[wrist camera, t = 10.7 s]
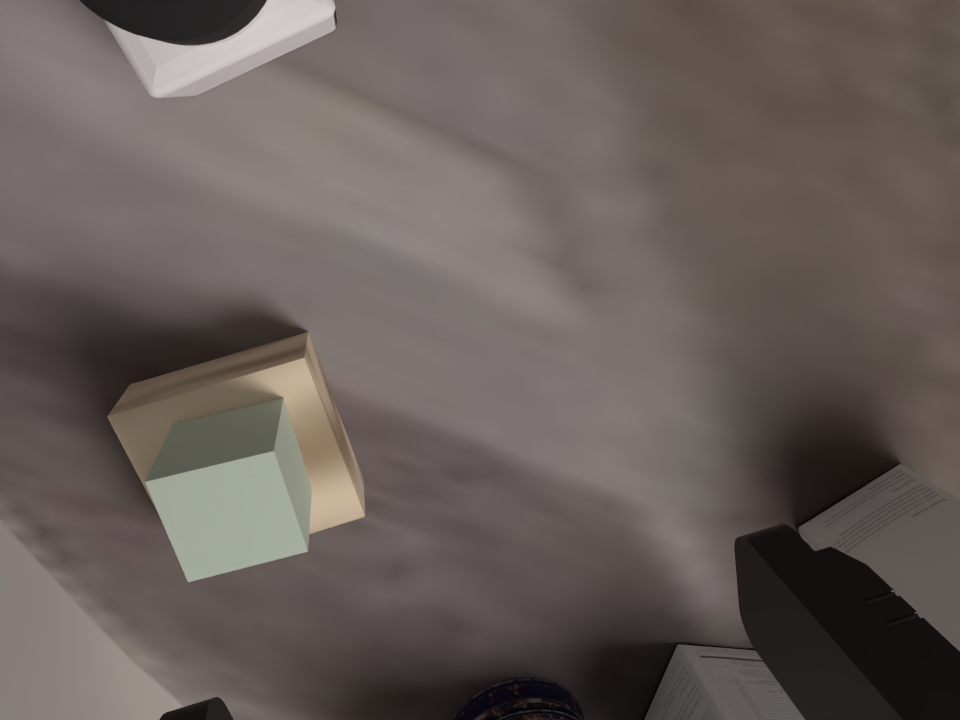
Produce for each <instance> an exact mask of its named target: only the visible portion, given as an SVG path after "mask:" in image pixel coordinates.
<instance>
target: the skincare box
mask: <svg viewBox="0 0 960 720" xmlns="http://www.w3.org/2000/svg"><path fill="white" fill-rule="evenodd" d="M798 531H799V533H800V535H801V538H802V539H803V540H804V541H805V542H806V543H807V544H808V545H809V546H810V547H811V548H812V549H813V550H814V551H818V550H821V549H824V548H827V547H830V546H831V547H833V548H835V549H837V550H839V551H841V552H843V553H845V554H847V555H849V556H851V557H853V558H855V559H857V560H859V561H861V562H863V563H865V564H867V565H868V566H869V567H870V568H871V569H872V570H873V571H874V572H875V573H876V574H878V575H879V576H880V577H881V578H882V579H883V580H884V581H885V582H886V583H887V584H888V585H889V586H890V587H891V588H892V589H894V592H895V594H896V595H897V596H899V595H900V596H901V597H902V598H903V599H904V600H905V601H906V602H907V603H908V604H910V605H911V606H912V607H913V608H914V609H915V610H916V611H917V613H918V616H919V617H920V618H924V619H926V620H927V621H928V622H929V623H930V624H931V625H932V626H933V627H934V628H935V629H936V630H937V631H938V632H939V633H940V634H942V635H943V636H944V637H945V638H946V639H947V640H948V641H949V642H950V643H951V644H952V645H953V646H954V647H955V648H956V649H958V650H959V651H960V500H958V499H957V498H955V497H954V496H952V495H950V494H949V493H947V492H946V491H944V490H942V489H941V488H939V487H938V486H936V485H934V484H933V483H931V482H930V481H928V480H926V479H925V478H923V477H921V476H920V475H918V474H917V473H915V472H913V471H912V470H910V469H909V468H907V467H905V466H904V465H902V464H899V465H897V466H896V467H894V468H893V469H891V470H889V471H888V472H886V473H885V474H883V475H881V476H880V477H878V478H877V479H875V480H873V481H872V482H870V483H869V484H867V485H866V486H864V487H862V488H861V489H859V490H858V491H856V492H854V493H853V494H851V495H850V496H848V497H846V498H845V499H843V500H842V501H840V502H838V503H837V504H835V505H834V506H832V507H830V508H829V509H827V510H825V511H824V512H822V513H821V514H819V515H817V516H816V517H814V518H813V519H811V520H809V521H808V522H806V523H805V524H803V525H801V526H800V527H799V528H798Z"/></svg>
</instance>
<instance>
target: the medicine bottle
mask: <svg viewBox="0 0 960 720" xmlns="http://www.w3.org/2000/svg"><path fill="white" fill-rule="evenodd" d="M80 1H81V2H82V3H83V4H84V5H85V6H86V7H88V8H89V9H90V10H91V11H93V12H94V13H96V14H97V15H98V16H100V17H101V18H102V19H103V20H104V21H105V23H106V25H107V26H108V28H109V30H110V31H111V33H112V35H113V36H114V38H115V40H116V42H117V43H118V45H119V47H120V48H121V50H122V52H123V53H124V55H125V57H126V58H127V60H128V62H129V63H130V65H131V67H132V68H133V70H134V72H135V74H136V75H137V77H138V79H139V80H140V82H141V84H142V85H143V87H144V89H145V90H146V92H147V93H148V94H149V95H150V96H152V97H155V98H164V97H181V96H195V95H199V94H201V93H203V92H205V91H207V90H209V89H212V88H214V87H216V86H218V85H220V84H222V83H224V82H226V81H228V80H231V79H233V78H235V77H237V76H239V75H241V74H243V73H245V72H248V71H250V70H252V69H254V68H256V67H258V66H260V65H262V64H264V63H267V62H269V61H271V60H273V59H275V58H277V57H279V56H281V55H284V54H286V53H288V52H290V51H292V50H294V49H296V48H298V47H300V46H303V45H305V44H307V43H309V42H311V41H313V40H315V39H317V38H320V37H322V36H324V35H326V34H328V33H330V32H332V31H333V30H334V29H336V26H337V19H336V10H335V4H334V1H333V0H80Z"/></svg>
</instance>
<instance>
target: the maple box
mask: <svg viewBox="0 0 960 720" xmlns="http://www.w3.org/2000/svg"><path fill="white" fill-rule="evenodd" d="M281 398H283V399H284V402H285V405H286V408H287V411H288V414H289V417H290V420H291V424H292V427H293V430H294V433H295V436H296V439H297V442H298V445H299V449H300V452H301V455H302V458H303V461H304V464H305V467H306V470H307V474H308V477H309V480H310V483H311V486H312V498H311V513H310V527H309V534H311V533H314V532H317V531H321V530H324V529H327V528H330V527H333V526H336V525H339V524H343V523H346V522H349V521H352V520H355V519H358V518H362V517H365V504H364V483H363V477H362V474H361V472H360V469H359V466H358V464H357V461H356V458H355V456H354V453H353V450H352V448H351V445H350V442H349V440H348V437H347V434H346V432H345V429H344V426H343V424H342V421H341V418H340V416H339V413H338V410H337V408H336V405H335V402H334V400H333V397H332V394H331V391H330V389H329V386H328V383H327V381H326V378H325V375H324V373H323V370H322V367H321V365H320V362H319V359H318V357H317V354H316V351H315V349H314V346H313V343H312V341H311V338H310V335H309V333H308V332H305V333H302V334H299V335H295V336H292V337H288V338H285V339H282V340H278V341H275V342H272V343H268V344H265V345H261V346H258V347H255V348H251V349H248V350H245V351H241V352H238V353H234V354H231V355H228V356H224V357H221V358H218V359H214V360H211V361H207V362H204V363H201V364H197V365H194V366H191V367H187V368H184V369H180V370H177V371H174V372H170V373H167V374H164V375H160V376H157V377H153V378H150V379H147V380H143V381H140V382H137V383H133V384H130V385H129V387H128V388H127V389H126V391H125V392H124V394H123V395H122V396H121V398H120V399H119V401H118V402H117V403H116V405H115V406H114V408H113V409H112V410H111V412H110V413H109V415H108V416H107V417H108V419H109V421H110V423H111V425H112V427H113V429H114V431H115V433H116V435H117V436H118V438H119V440H120V442H121V444H122V446H123V448H124V450H125V452H126V453H127V455H128V457H129V459H130V461H131V463H132V465H133V467H134V469H135V470H136V472H137V474H138V476H139V478H140V480H141V482H142V484H143V486H144V488H145V489H146V491H147V493H148V495H149V497H150V499H151V501H152V503H153V505H154V506H155V504H154V502H153V500H152V497H151V495H150V493H149V490H148V488H147V486H146V483H145V481H146V479H147V477H148V475H149V472H150V470H151V468H152V466H153V464H154V462H155V460H156V458H157V456H158V454H159V452H160V450H161V448H162V446H163V444H164V441H165V439H166V437H167V435H168V433H169V431H170V429H171V427H172V425H173V424H174V423H178V422H183V421H187V420H191V419H196V418H200V417H204V416H208V415H213V414H217V413H221V412H226V411H230V410H234V409H238V408H243V407H247V406H251V405H256V404H260V403H264V402H268V401H273V400H277V399H281ZM155 508H156V507H155ZM156 510H157V509H156ZM157 512H158V511H157ZM158 514H159V513H158Z"/></svg>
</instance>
